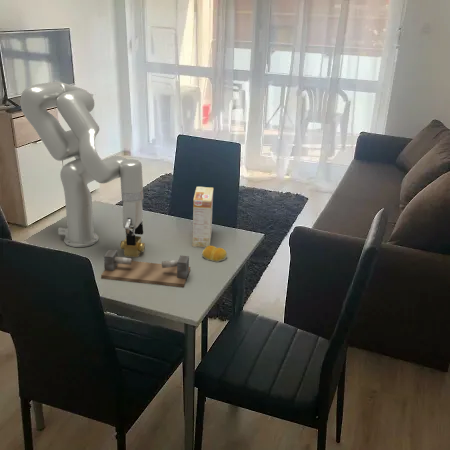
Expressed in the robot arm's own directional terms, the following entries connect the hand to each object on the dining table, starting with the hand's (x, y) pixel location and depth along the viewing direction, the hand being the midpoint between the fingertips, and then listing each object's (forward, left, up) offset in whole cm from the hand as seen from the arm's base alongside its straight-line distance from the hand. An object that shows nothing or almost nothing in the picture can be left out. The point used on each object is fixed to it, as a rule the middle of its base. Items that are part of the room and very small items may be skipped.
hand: (135, 239), depth 181 cm
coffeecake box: (+22, +18, -6) cm, 29 cm away
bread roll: (+29, +4, -6) cm, 30 cm away
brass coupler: (-1, 0, -6) cm, 6 cm away
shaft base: (+8, -14, -6) cm, 17 cm away
